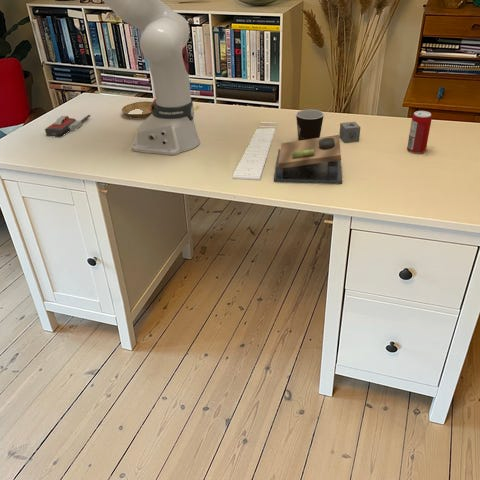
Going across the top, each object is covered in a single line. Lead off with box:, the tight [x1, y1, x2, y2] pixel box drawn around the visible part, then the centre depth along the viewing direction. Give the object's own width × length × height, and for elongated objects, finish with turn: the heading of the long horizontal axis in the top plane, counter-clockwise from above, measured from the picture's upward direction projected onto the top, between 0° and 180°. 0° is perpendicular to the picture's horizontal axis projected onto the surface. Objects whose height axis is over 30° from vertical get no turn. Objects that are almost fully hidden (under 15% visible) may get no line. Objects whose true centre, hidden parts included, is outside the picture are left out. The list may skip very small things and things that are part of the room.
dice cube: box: [338, 121, 362, 144], centre depth 160 cm, size 5×5×5 cm
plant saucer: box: [121, 101, 153, 119], centre depth 189 cm, size 15×15×3 cm
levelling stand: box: [273, 148, 343, 185], centre depth 143 cm, size 19×15×4 cm
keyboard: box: [231, 121, 278, 181], centre depth 159 cm, size 45×8×2 cm, turn 169°
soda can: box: [406, 110, 433, 155], centre depth 149 cm, size 6×6×12 cm
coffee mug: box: [295, 109, 325, 141], centre depth 158 cm, size 12×9×10 cm
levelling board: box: [278, 134, 342, 168], centre depth 140 cm, size 17×14×3 cm
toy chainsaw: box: [44, 114, 91, 138], centre depth 179 cm, size 9×4×20 cm
